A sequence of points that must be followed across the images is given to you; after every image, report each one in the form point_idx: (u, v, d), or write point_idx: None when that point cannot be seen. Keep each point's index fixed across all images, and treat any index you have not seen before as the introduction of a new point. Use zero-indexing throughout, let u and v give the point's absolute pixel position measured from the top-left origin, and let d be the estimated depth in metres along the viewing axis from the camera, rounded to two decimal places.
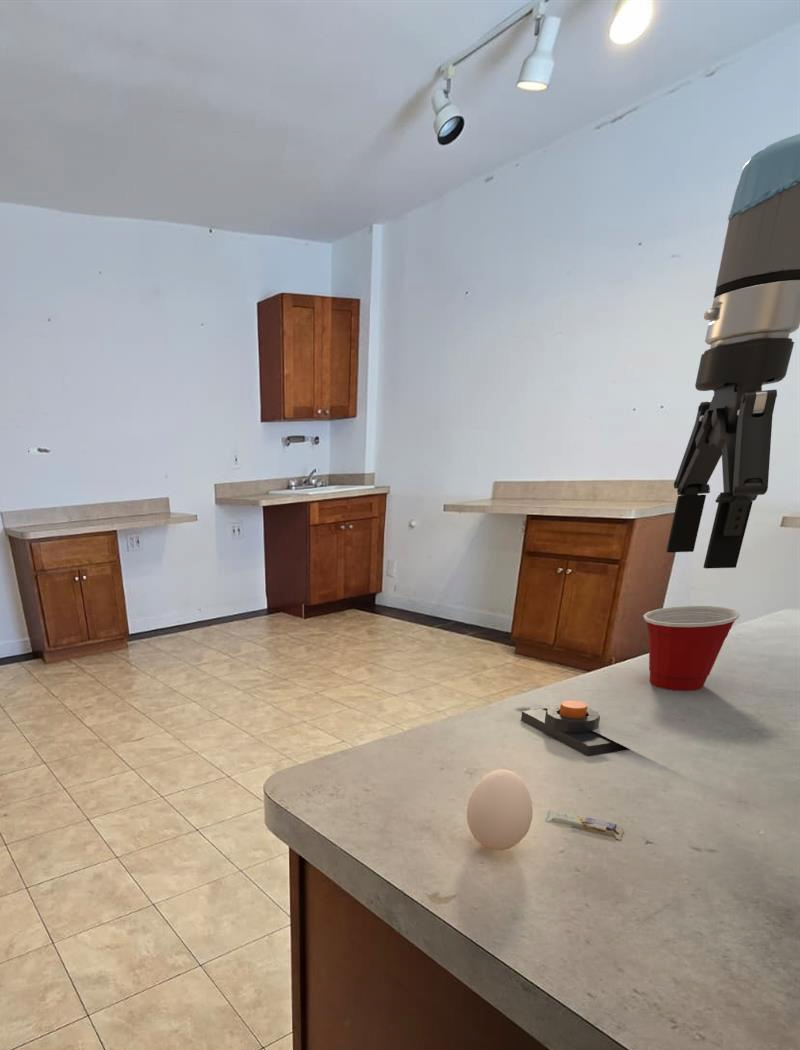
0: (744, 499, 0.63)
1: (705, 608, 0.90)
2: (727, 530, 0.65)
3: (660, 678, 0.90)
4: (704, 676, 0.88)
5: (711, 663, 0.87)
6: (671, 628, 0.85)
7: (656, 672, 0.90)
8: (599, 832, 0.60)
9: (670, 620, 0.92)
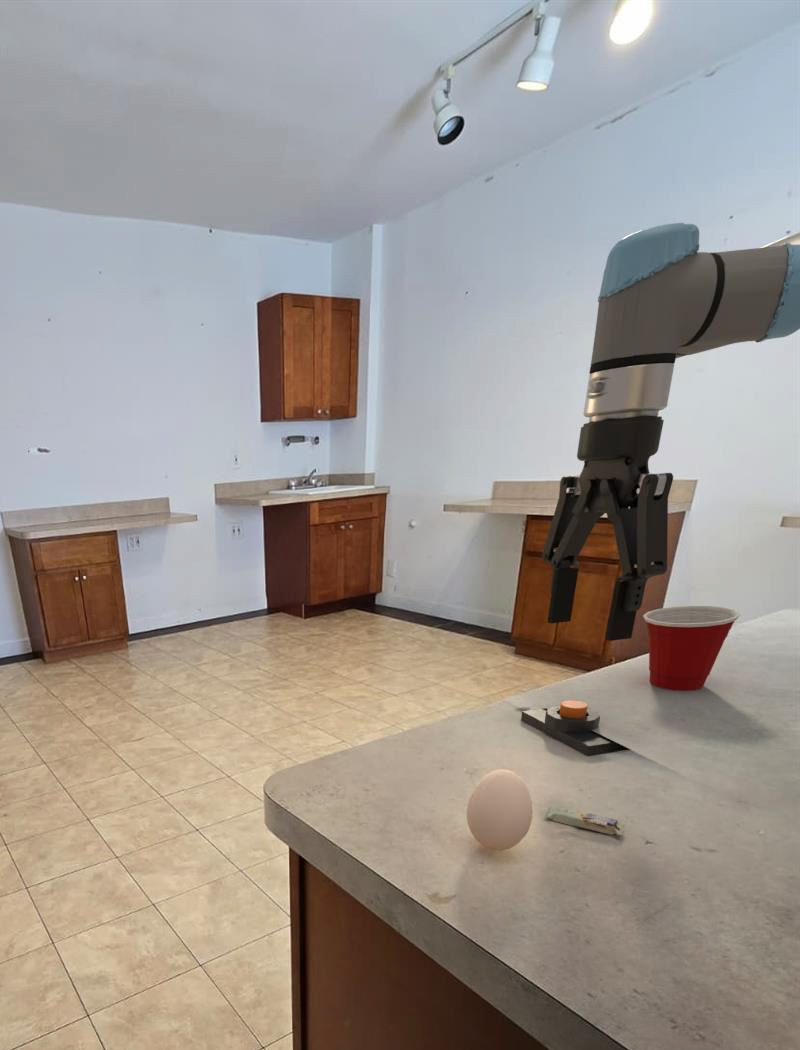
0: (644, 578, 0.67)
1: (705, 608, 0.90)
2: (629, 606, 0.69)
3: (660, 678, 0.90)
4: (704, 676, 0.88)
5: (711, 663, 0.87)
6: (671, 628, 0.85)
7: (656, 672, 0.90)
8: (600, 828, 0.60)
9: (670, 620, 0.92)
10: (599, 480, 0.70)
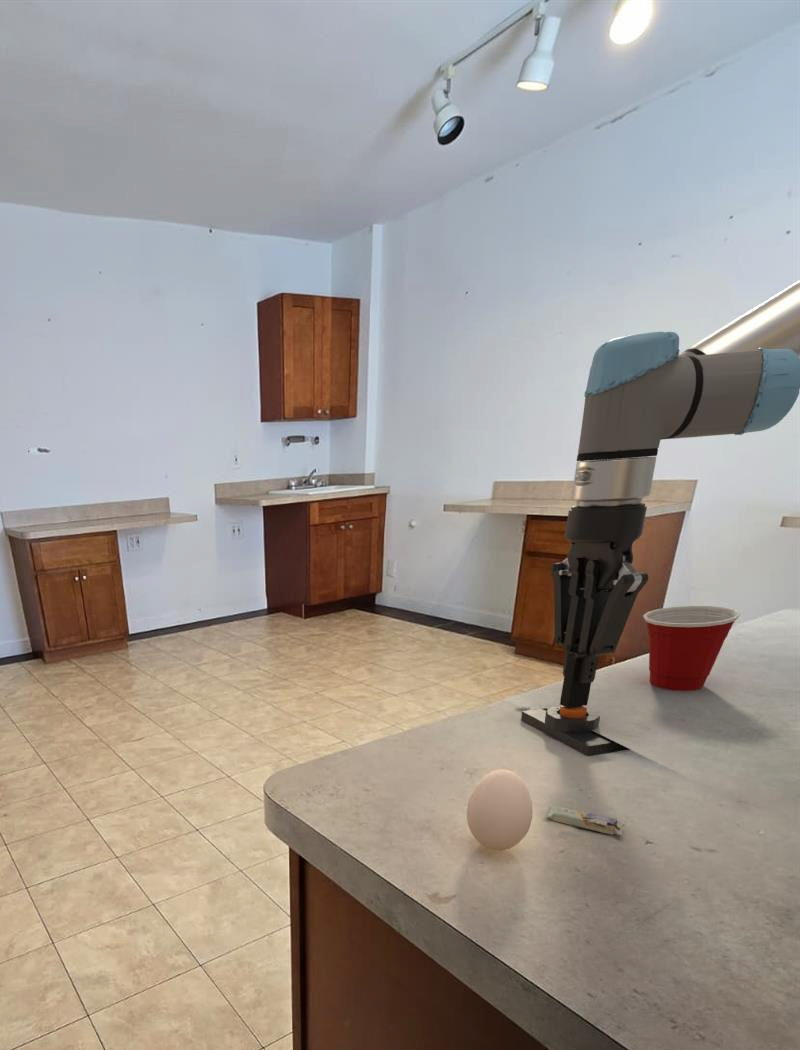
0: (596, 656, 0.75)
1: (705, 608, 0.90)
2: (584, 679, 0.77)
3: (660, 678, 0.90)
4: (704, 676, 0.88)
5: (711, 663, 0.87)
6: (671, 628, 0.85)
7: (656, 672, 0.90)
8: (600, 827, 0.60)
9: (670, 620, 0.92)
10: (586, 559, 0.73)
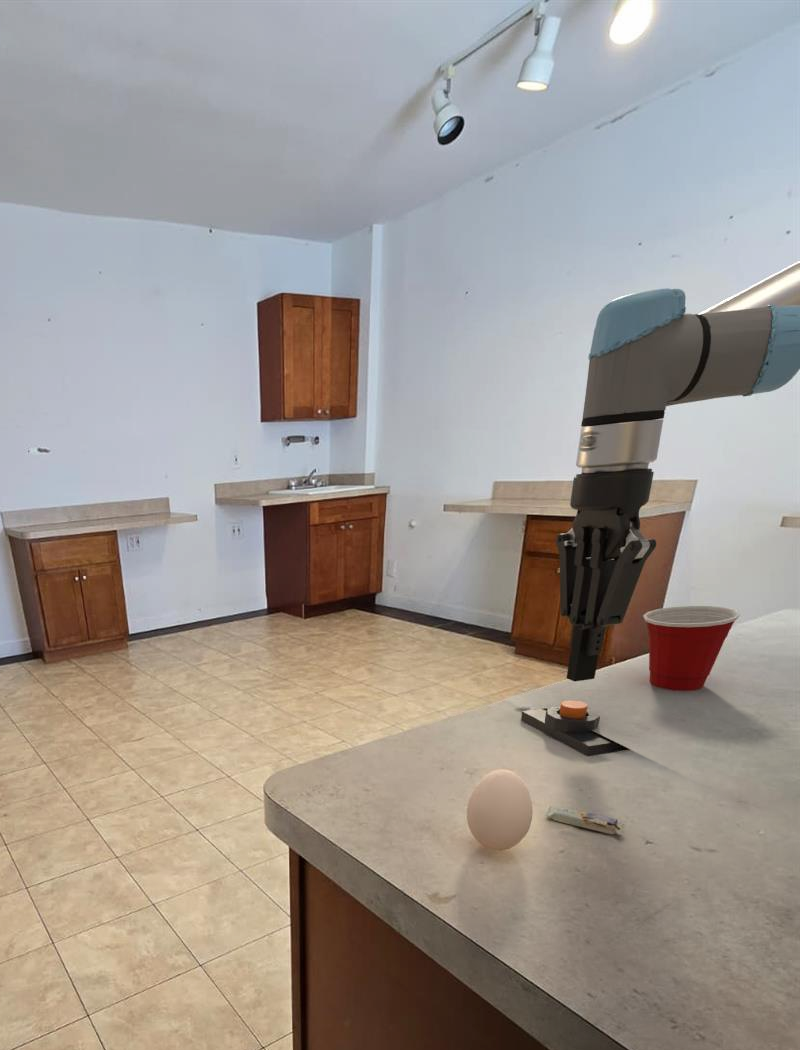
0: (603, 627, 0.74)
1: (705, 608, 0.90)
2: (591, 651, 0.75)
3: (660, 678, 0.90)
4: (704, 676, 0.88)
5: (711, 663, 0.87)
6: (671, 628, 0.85)
7: (656, 672, 0.90)
8: (600, 827, 0.60)
9: (670, 620, 0.92)
10: (592, 528, 0.72)
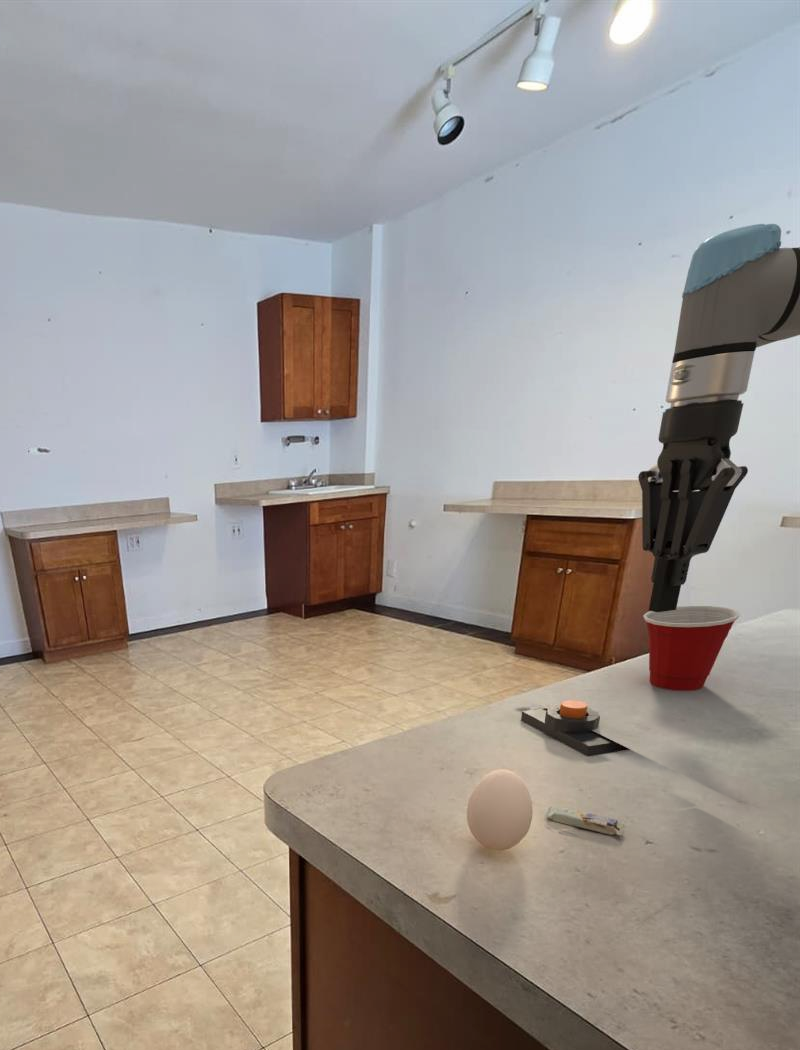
0: (688, 556, 0.78)
1: (705, 608, 0.90)
2: (676, 581, 0.79)
3: (660, 678, 0.90)
4: (704, 676, 0.88)
5: (711, 663, 0.87)
6: (671, 628, 0.85)
7: (656, 672, 0.90)
8: (600, 828, 0.60)
9: (670, 620, 0.92)
10: (680, 461, 0.75)
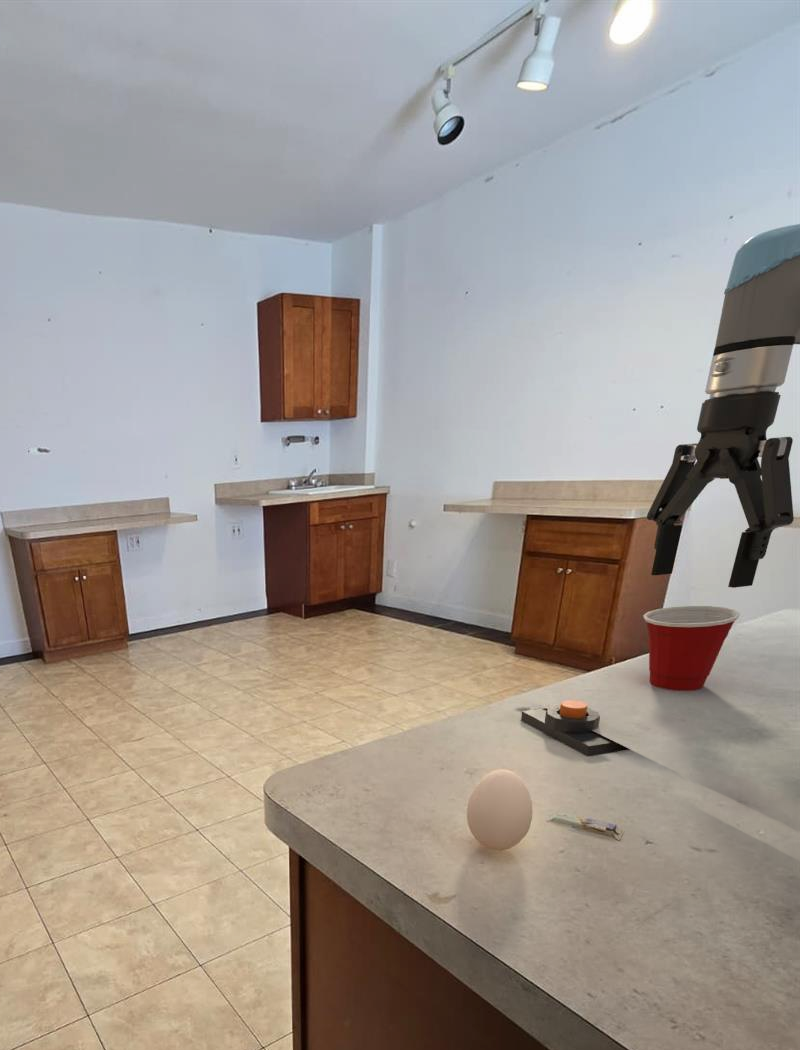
0: (770, 529, 0.75)
1: (705, 608, 0.90)
2: (755, 555, 0.77)
3: (660, 678, 0.90)
4: (704, 676, 0.88)
5: (711, 663, 0.87)
6: (671, 628, 0.85)
7: (656, 672, 0.90)
8: (599, 832, 0.60)
9: (670, 620, 0.92)
10: (717, 449, 0.79)
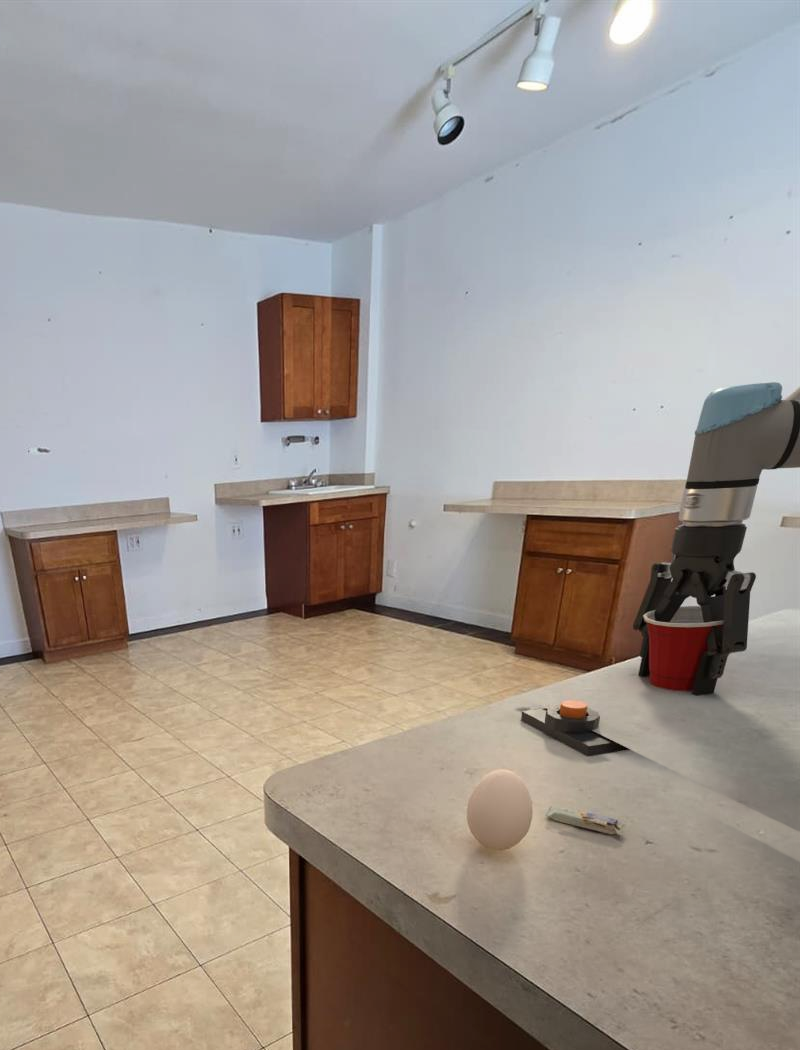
0: (726, 653, 0.83)
1: None
2: (713, 675, 0.85)
3: (660, 678, 0.90)
4: None
5: None
6: (671, 628, 0.85)
7: (656, 672, 0.90)
8: (600, 827, 0.60)
9: None
10: (689, 571, 0.85)
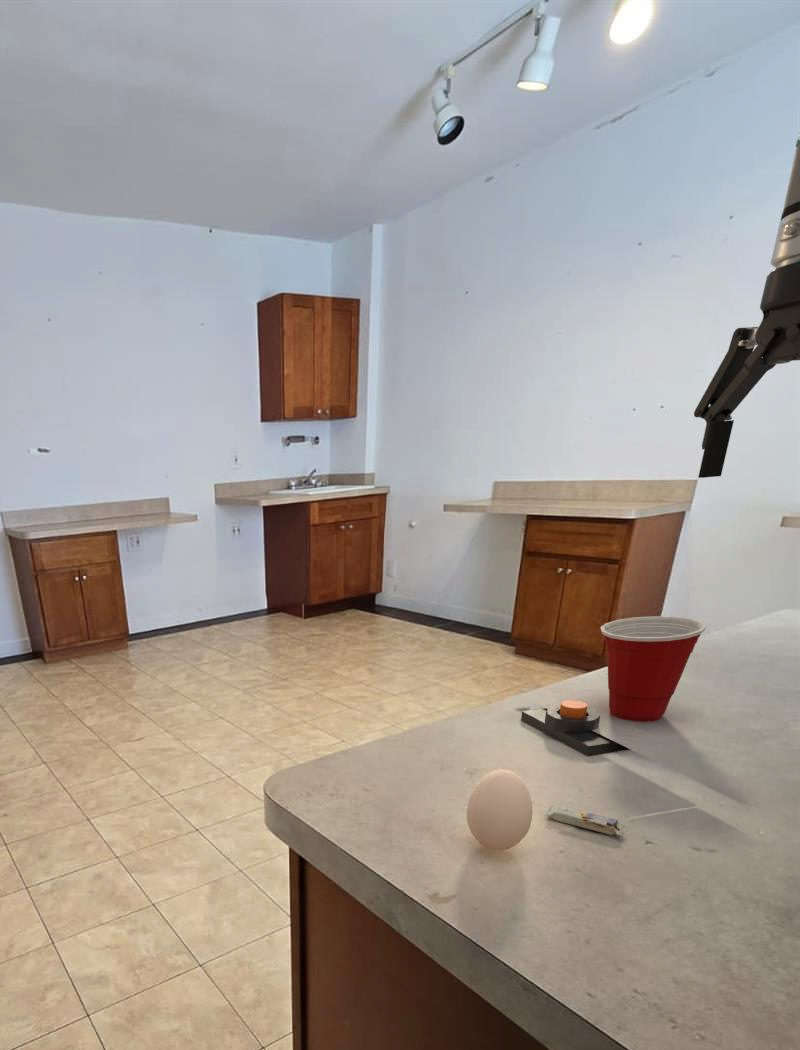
0: None
1: (669, 619, 0.80)
2: None
3: (619, 697, 0.80)
4: (667, 696, 0.78)
5: (675, 681, 0.77)
6: (629, 643, 0.76)
7: (614, 691, 0.80)
8: (599, 827, 0.60)
9: (631, 633, 0.82)
10: (783, 328, 0.72)
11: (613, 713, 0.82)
